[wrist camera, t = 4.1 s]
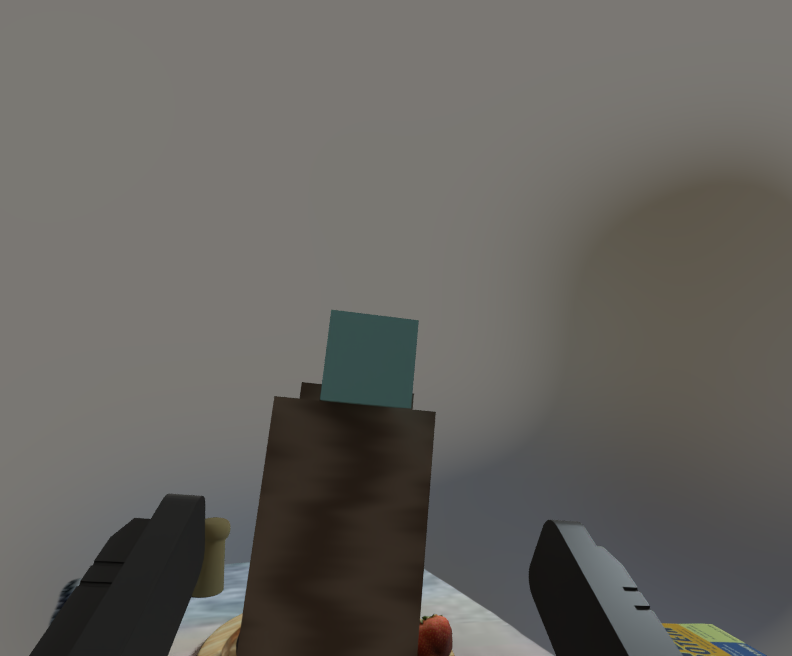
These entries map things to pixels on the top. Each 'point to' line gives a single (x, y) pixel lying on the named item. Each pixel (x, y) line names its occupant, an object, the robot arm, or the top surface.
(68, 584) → the top surface
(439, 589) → the top surface
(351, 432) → the tall wooden box
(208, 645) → the wooden plate with food
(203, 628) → the top surface
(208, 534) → the cork
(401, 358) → the teal block
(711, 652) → the protein box
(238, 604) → the top surface
